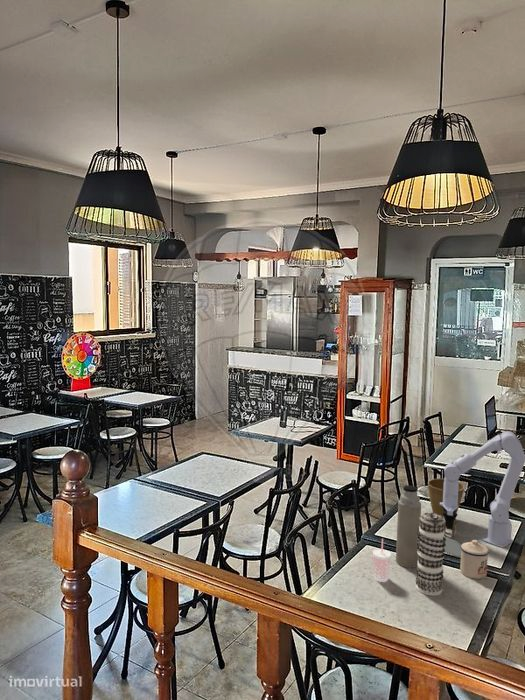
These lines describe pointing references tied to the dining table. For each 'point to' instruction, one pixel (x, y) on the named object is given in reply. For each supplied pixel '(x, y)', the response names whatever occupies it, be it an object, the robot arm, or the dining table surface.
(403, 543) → the thermos bottle
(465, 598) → the dining table surface
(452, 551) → the mat
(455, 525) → the stool
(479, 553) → the teacup with lid
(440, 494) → the plant pot
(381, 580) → the beverage cup
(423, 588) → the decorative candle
